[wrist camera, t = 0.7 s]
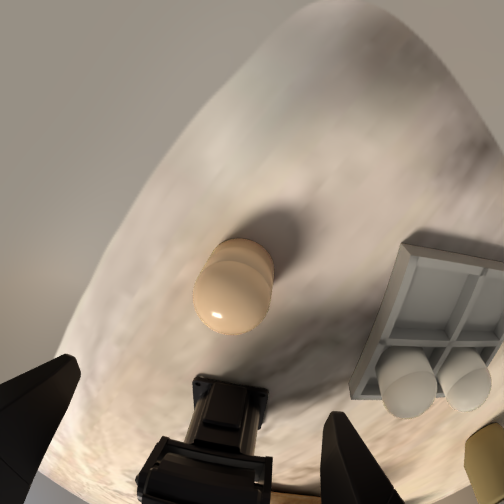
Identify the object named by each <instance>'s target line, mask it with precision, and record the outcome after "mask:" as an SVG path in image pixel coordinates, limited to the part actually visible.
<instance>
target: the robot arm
mask: <svg viewBox="0 0 504 504" xmlns="http://www.w3.org/2000/svg"><path fill="white" fill-rule="evenodd" d="M80 377H81V371H80V368H79V366H78V363H77V360H76V358H75V357H74V356H72V355H69V354H63V355H61V356H59V357H57V358H55V359H53V360H51V361H49V362H46V363H44V364H42V365H40V366H38V367H36V368H34V369H32V370H30V371H27V372H25V373H23V374H21V375H19V376H17V377H15V378H13V379H11V380H8V381H6V382H4V383H2V384H0V504H23V503H24V501H25V499H26V496H27V494H28V491H29V489H30V487H31V484H32V482H33V479H34V477H35V474H36V472H37V470H38V468H39V466H40V464H41V461H42V459H43V457H44V455H45V453H46V451H47V449H48V447H49V444H50V442H51V440H52V438H53V436H54V434H55V432H56V430H57V428H58V426H59V424H60V422H61V421H62V419H63V417H64V415H65V413H66V411H67V409H68V406H69V404H70V402H71V399H72V397H73V394H74V392H75V389H76V387H77V384H78V382H79V380H80ZM192 385H193V399H194V413H193V416H192V419H191V422H190V425H189V428H188V431H187V434H186V437H185V441H184V442H180V441H176V440H172V439H170V438H169V437H165V436H162V437H161V439H160V441H159V443H157V444H156V446H155V447H154V449H153V451H152V452H151V454H150V456H149V458H148V459H147V461H146V463H145V464H144V466H143V468H142V469H141V471H140V473H139V474H138V475H137V476H136V479H135V482H136V483H137V485H138V487H137V497H138V500H139V501H140V502H142V504H270V499H271V484H272V462H273V457H269V456H266V457H260V456H254V451H255V444H256V437H257V430H259V429H261V425H262V421H263V417H264V413H265V408H266V404H267V400H268V395H269V391H268V390H267V389H264V388H257V387H250V386H244V385H238V384H232V383H226V382H220V381H215V380H210V379H205V378H200V377H195V378H194V380H193V382H192ZM320 480H321V504H405V503H404V501H403V500H402V498H401V497H400V496H399V494H398V493H397V491H396V490H395V489H394V487H393V485H392V484H391V482H390V481H389V479H388V478H387V476H386V475H385V473H384V472H383V470H382V469H381V467H380V466H379V464H378V463H377V461H376V460H375V458H374V457H373V455H372V454H371V452H370V451H369V449H368V448H367V446H366V445H365V443H364V442H363V440H362V439H361V437H360V436H359V434H358V433H357V431H356V430H355V428H354V427H353V425H352V423H351V422H350V420H349V419H348V417H347V416H346V414H345V413H344V412H341V411H332V412H331V413H330V415H329V417H328V419H327V421H326V423H325V425H324V428H323V439H322V453H321V465H320ZM254 481H255V482H258V483H254Z"/></svg>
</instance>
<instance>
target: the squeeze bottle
mask: <svg viewBox="0 0 504 504" xmlns="http://www.w3.org/2000/svg"><path fill="white" fill-rule="evenodd" d="M464 468H465V470H466V473H467V475H468V478H469V480H470V483H471V485H472V488H473V490H474V493H475V496H476V498H477V501H478V504H504V428H503V427H502V426H500V425H499V424H498V423H493V424H490V425H488V426H486V427H484V428H482V429H481V430H479V431H478V432H476V433H475V434H474V435H473V436H471V437H470V438H469V439H468V441H467V442H466V444H465V458H464Z"/></svg>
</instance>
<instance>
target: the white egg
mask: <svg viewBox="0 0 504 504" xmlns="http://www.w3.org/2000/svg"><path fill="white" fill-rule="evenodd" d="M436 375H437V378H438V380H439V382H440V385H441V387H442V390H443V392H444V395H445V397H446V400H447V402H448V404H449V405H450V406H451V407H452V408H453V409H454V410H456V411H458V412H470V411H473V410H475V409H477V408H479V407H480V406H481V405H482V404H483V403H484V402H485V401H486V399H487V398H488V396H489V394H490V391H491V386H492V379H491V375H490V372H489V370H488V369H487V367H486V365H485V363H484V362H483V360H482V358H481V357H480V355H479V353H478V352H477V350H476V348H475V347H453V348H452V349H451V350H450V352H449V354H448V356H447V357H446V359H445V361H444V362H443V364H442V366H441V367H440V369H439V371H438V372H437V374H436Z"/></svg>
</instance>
